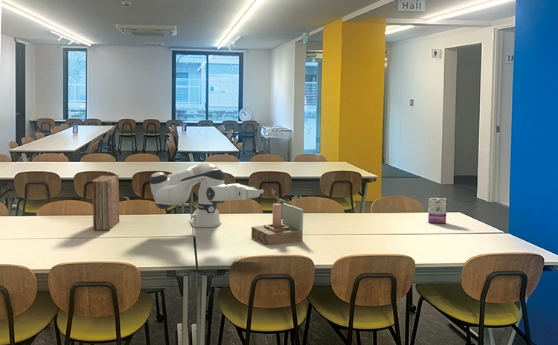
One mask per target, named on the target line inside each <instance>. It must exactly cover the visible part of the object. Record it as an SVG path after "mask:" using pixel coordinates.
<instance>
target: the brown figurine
mask: <svg viewBox="0 0 558 345" xmlns="http://www.w3.org/2000/svg"><path fill="white" fill-rule="evenodd" d="M275 192H276V189H275V190H274V188H273V187H272V188H271V195H272V197H273V198H274V199H276V202H274V203H273V204H282V209H283V203H286V204H289V205H291V206H292V203H291V202H290V201H287V200H284V199H283V198H280V197H277V196H276V195H275ZM271 213H272V214H273V210H272V212H271ZM281 221H282V216H281Z"/></svg>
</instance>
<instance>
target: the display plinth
mask: <svg viewBox="0 0 558 345" xmlns="http://www.w3.org/2000/svg"><path fill="white" fill-rule="evenodd" d="M272 225H273V223H270V224H269V223H268V224H263V225H254V226H251V236H250V237H251V238H252V239H255V240H256V241H259V242H260V243H263V244H265V245H267V246H273V245H280V244H289V243H290V244H291V243H296V242H297V243H298V242H303V234H304V233H303V229H304V209H303V208H299V207H297V206H294V205H292V204H291V205H289V204H286V203H283V209H282V220H281V228H273V227H272Z"/></svg>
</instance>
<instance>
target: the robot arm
mask: <svg viewBox="0 0 558 345" xmlns="http://www.w3.org/2000/svg"><path fill="white" fill-rule="evenodd" d="M225 178H226V176H225V173H224V172H223V170H221V169H219V167H218V165H215V164H212V163H210V162H207V161H203V162H200V163H197V164H195V165H193V166H190V167H188V168H186V169H183V170H179V171H176V172H173V173H170V174H166V173H165V172H162V171H161V172H160V171H159V172H158V171H157V172H155V173H152V174H151V175H150V177H149V180H148V181H149V185H150V190H151V194H152V196H153V199H154V202H155V205H156V207H157V208H158V209H160V210H166V209H170V208H171V207H172V206H176V205H177V206H178V205H184V204H185V203H186V202H187V201H188V200H189V198H190V196H191V192H192V189H193V186H195V185H196V184H198V183H200V185H199V189H198V202H197V205H196V206H197V207H196V209H195V211H194V212H193V214H191V218H192V219H190V220H188V222H189V223H190V224H191V226H192V227H194V228H195V227H198V228H214V227H218V226H220V225H221V224H222V221H220V220H221V218H220V211H219V210H218V204H223V203H225V202H226V201H238V200H241V201H246V200H247V199H255V198H259V197H260V194H264V191H265V190H264V189H257V188H256V187H255V186H249V185H245V184H241V183H228V184H225Z"/></svg>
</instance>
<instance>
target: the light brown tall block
mask: <svg viewBox="0 0 558 345" xmlns="http://www.w3.org/2000/svg"><path fill="white" fill-rule="evenodd" d="M272 211H273V213H272V224H273V225H272V227H273V228H281V223H282V220H281V216H282V204H277V203H275V204H274V203H273V204H272Z"/></svg>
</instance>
